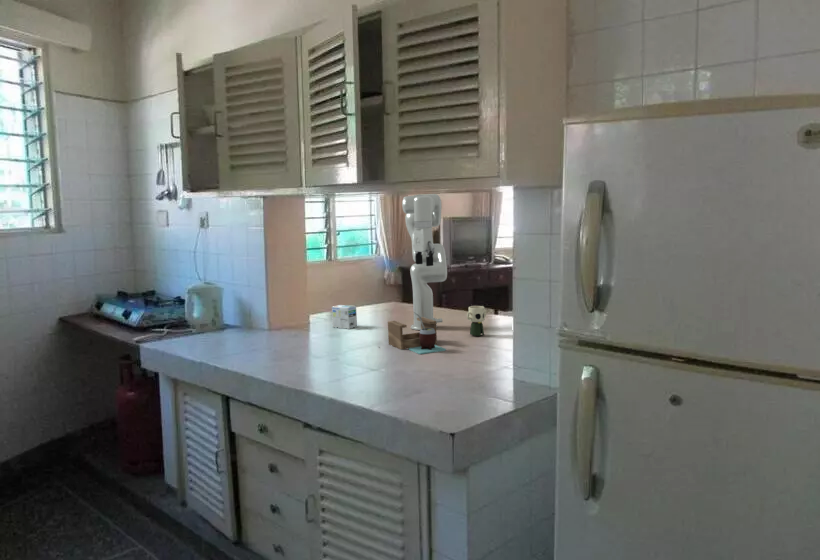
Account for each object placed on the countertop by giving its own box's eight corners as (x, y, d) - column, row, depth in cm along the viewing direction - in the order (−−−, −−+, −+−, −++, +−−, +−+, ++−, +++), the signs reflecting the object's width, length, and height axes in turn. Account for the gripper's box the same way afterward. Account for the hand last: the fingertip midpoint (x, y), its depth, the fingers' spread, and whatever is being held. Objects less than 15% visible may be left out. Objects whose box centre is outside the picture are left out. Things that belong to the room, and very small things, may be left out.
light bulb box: (357, 327, 316) (356, 305, 315) (349, 329, 311) (348, 307, 309) (340, 325, 322) (339, 304, 321) (332, 327, 316) (331, 306, 315)
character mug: (473, 338, 280) (472, 309, 279) (462, 336, 286) (461, 307, 285) (491, 335, 286) (491, 306, 285) (480, 332, 292) (480, 304, 291)
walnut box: (423, 339, 282) (422, 317, 281) (436, 344, 271) (436, 321, 270) (388, 344, 274) (387, 321, 273) (400, 349, 264) (400, 325, 263)
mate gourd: (439, 349, 260) (438, 312, 258) (421, 351, 257) (420, 314, 255) (431, 345, 267) (430, 310, 265) (414, 347, 264) (413, 311, 262)
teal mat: (433, 345, 268) (433, 344, 268) (445, 350, 260) (445, 348, 259) (408, 349, 263) (408, 348, 263) (419, 354, 254) (419, 352, 254)
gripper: (406, 225, 280) (407, 264, 282) (425, 226, 265) (426, 267, 267) (421, 224, 284) (422, 262, 286) (440, 225, 268) (441, 265, 270)
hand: (424, 264), depth 276 cm, fingers open, 9 cm apart
